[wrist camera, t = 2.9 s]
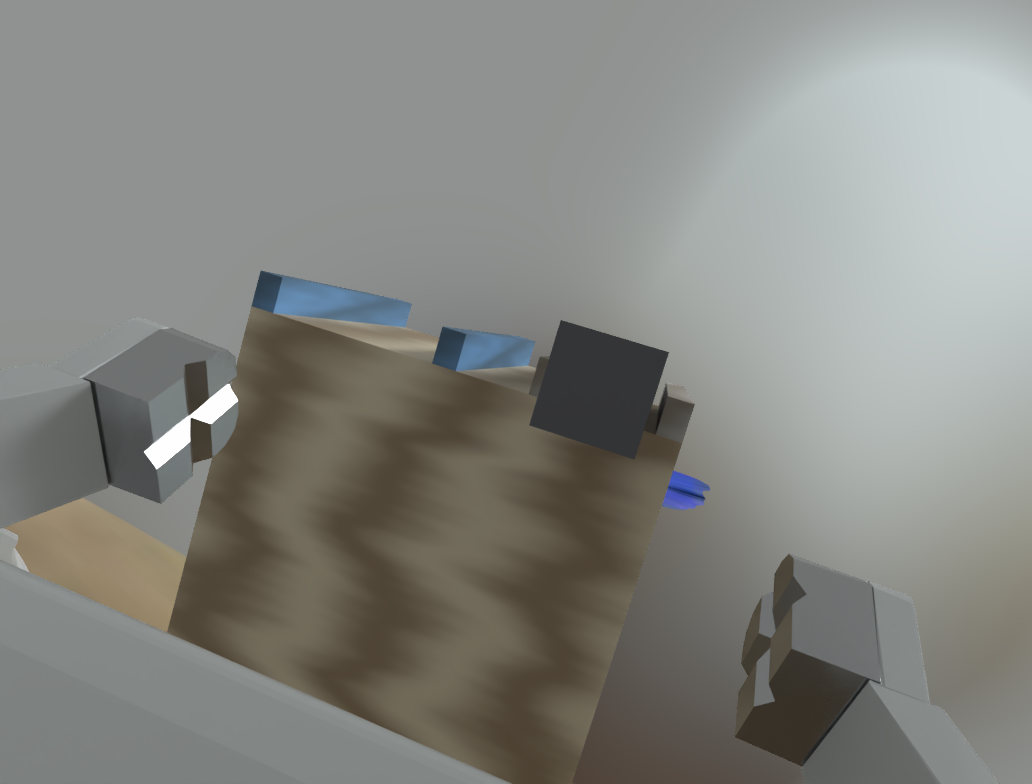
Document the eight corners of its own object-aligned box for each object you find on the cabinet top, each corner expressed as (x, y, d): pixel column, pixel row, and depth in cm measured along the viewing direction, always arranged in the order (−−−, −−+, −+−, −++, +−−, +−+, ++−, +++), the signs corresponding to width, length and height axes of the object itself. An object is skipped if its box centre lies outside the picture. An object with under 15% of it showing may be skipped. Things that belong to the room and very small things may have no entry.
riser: (546, 810, 47) (683, 386, 44) (483, 1053, 31) (694, 404, 28) (287, 703, 50) (400, 299, 47) (105, 872, 34) (260, 270, 31)
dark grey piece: (649, 407, 41) (666, 353, 41) (634, 459, 20) (669, 352, 20) (595, 390, 41) (612, 337, 41) (529, 425, 21) (560, 319, 20)
